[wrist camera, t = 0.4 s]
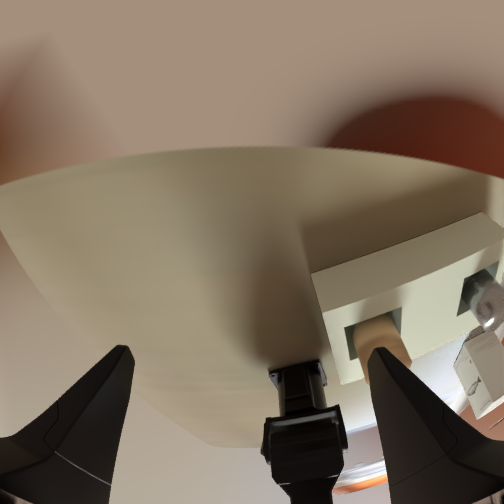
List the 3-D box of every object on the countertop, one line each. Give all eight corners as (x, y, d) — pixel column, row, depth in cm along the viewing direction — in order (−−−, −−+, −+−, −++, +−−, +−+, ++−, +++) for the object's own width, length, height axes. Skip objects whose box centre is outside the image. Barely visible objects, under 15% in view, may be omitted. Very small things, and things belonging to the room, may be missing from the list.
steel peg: (484, 292, 20) (506, 321, 16) (458, 306, 21) (480, 338, 17) (490, 262, 18) (517, 291, 14) (463, 276, 19) (490, 309, 15)
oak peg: (392, 335, 22) (409, 374, 18) (353, 349, 23) (366, 390, 19) (392, 308, 20) (413, 349, 16) (349, 323, 21) (364, 368, 17)
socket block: (470, 294, 26) (489, 319, 22) (332, 350, 29) (340, 385, 25) (481, 211, 20) (511, 234, 16) (310, 273, 24) (321, 313, 19)
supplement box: (462, 342, 31) (494, 402, 21) (492, 326, 30) (524, 379, 20) (451, 366, 35) (475, 421, 24) (479, 351, 34) (505, 401, 23)
